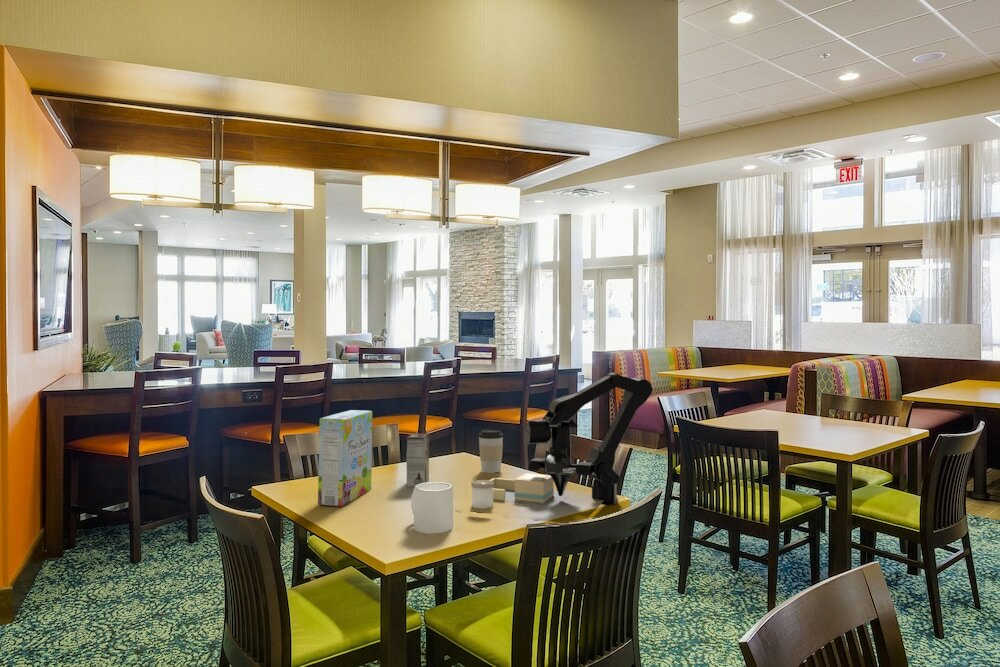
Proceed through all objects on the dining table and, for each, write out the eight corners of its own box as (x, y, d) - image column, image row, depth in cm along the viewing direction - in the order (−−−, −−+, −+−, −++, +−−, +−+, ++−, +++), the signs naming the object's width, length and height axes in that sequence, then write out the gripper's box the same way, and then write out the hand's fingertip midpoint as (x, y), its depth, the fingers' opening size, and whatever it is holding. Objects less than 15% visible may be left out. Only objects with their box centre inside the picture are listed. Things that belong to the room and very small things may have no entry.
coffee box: (410, 480, 223) (410, 433, 223) (429, 480, 223) (429, 433, 223) (406, 486, 214) (405, 437, 214) (425, 486, 214) (425, 437, 214)
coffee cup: (493, 475, 230) (493, 432, 230) (473, 471, 236) (473, 430, 236) (508, 470, 237) (508, 429, 237) (488, 467, 243) (488, 426, 243)
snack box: (344, 508, 189) (344, 419, 189) (316, 506, 191) (316, 418, 191) (373, 489, 211) (373, 409, 210) (348, 488, 212) (348, 408, 212)
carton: (553, 495, 198) (553, 475, 198) (543, 502, 190) (543, 481, 190) (525, 492, 202) (525, 472, 202) (514, 499, 194) (514, 479, 193)
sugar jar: (497, 508, 189) (497, 481, 189) (488, 514, 183) (488, 486, 183) (477, 505, 191) (477, 479, 191) (467, 511, 186) (467, 484, 185)
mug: (397, 525, 173) (397, 484, 173) (427, 516, 181) (427, 478, 181) (431, 536, 164) (431, 493, 164) (461, 526, 171) (461, 486, 171)
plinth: (568, 498, 199) (568, 484, 199) (553, 510, 186) (553, 495, 186) (493, 490, 209) (493, 477, 209) (474, 501, 196) (474, 487, 196)
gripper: (521, 445, 189) (521, 499, 189) (584, 449, 181) (584, 506, 181) (534, 438, 199) (534, 490, 199) (594, 443, 191) (594, 496, 192)
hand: (560, 495), depth 193 cm, fingers closed
